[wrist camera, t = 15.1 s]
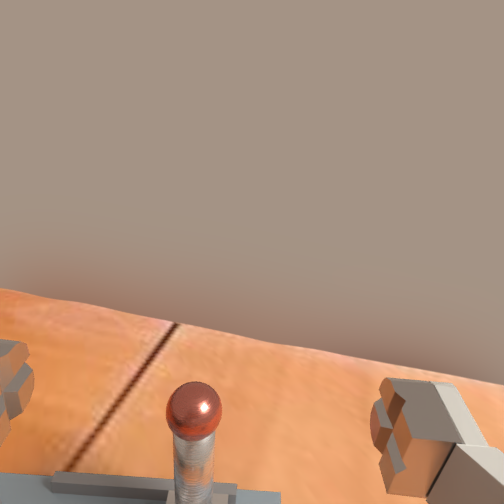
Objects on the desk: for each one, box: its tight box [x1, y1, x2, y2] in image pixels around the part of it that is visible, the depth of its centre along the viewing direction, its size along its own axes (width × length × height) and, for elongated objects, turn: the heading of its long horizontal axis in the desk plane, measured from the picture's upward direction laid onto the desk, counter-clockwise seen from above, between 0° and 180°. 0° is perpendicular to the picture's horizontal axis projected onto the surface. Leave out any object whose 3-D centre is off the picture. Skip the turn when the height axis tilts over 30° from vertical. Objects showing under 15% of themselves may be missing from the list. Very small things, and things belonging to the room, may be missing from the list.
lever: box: [166, 382, 228, 504], centre depth 27 cm, size 9×6×16 cm
